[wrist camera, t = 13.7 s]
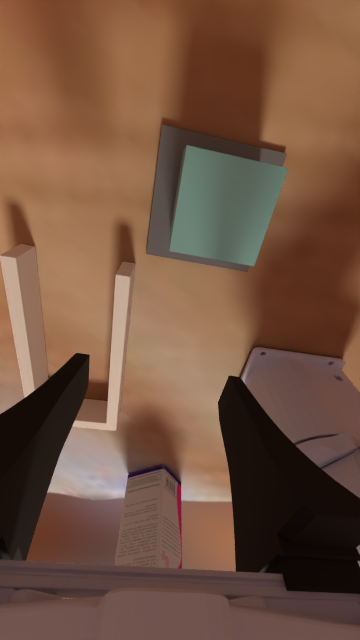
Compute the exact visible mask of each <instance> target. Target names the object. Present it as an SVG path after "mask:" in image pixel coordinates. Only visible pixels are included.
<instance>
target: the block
mask: <svg viewBox="0 0 360 640" xmlns="http://www.w3.org/2000/svg"><path fill="white" fill-rule="evenodd" d="M287 170H288V168H285V167H280V166H276V165H272V164H267V163H263V162H258V161H254V160H250V159H245V158H241V157H237V156H232V155H228V154H223V153H219V152H215V151H210V150H206V149H201V148H197V147H193V146H188V145H187V146H186V147H185V148H184V150H183V155H182V161H181V167H180V173H179V180H178V186H177V192H176V198H175V204H174V210H173V217H172V223H171V229H170V244H169V251H171V252H177V253H182V254H188V255H194V256H199V257H205V258H210V259H216V260H221V261H227V262H233V263H238V264H244V265H249V266H254V265H255V262H256V260H257V257H258V254H259V251H260V248H261V245H262V242H263V239H264V237H265V234H266V231H267V228H268V225H269V222H270V219H271V216H272V214H273V211H274V208H275V205H276V202H277V199H278V196H279V193H280V191H281V188H282V185H283V182H284V179H285V176H286V173H287Z"/></svg>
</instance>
